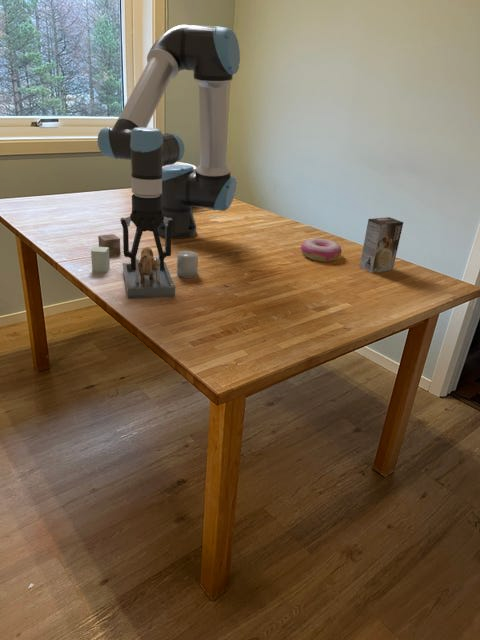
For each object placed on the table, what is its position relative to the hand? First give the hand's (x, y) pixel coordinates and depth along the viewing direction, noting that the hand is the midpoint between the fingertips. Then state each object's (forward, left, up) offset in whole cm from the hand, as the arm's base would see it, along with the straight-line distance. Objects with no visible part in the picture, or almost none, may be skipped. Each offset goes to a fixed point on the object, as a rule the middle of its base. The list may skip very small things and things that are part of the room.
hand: (147, 280), depth 130 cm
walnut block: (+9, -26, -1) cm, 28 cm away
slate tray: (0, 0, -1) cm, 1 cm away
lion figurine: (-1, -2, 0) cm, 2 cm away
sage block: (+12, -12, -1) cm, 17 cm away
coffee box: (-74, -5, -1) cm, 74 cm away
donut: (-60, -18, -2) cm, 63 cm away
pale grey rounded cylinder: (-12, -6, -1) cm, 14 cm away
